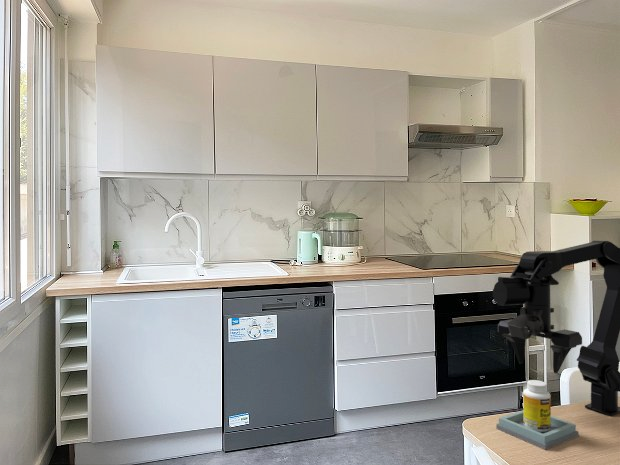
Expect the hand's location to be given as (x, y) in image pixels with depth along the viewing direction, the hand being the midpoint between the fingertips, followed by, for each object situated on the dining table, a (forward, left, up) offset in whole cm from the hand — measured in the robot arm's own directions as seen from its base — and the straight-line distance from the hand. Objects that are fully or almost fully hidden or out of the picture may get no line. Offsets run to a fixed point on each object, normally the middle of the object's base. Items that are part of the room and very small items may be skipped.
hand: (537, 367), depth 114 cm
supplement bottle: (+8, +5, -11) cm, 15 cm away
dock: (+8, +5, -12) cm, 15 cm away
